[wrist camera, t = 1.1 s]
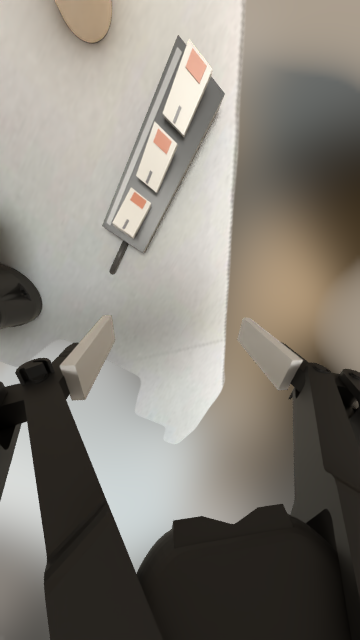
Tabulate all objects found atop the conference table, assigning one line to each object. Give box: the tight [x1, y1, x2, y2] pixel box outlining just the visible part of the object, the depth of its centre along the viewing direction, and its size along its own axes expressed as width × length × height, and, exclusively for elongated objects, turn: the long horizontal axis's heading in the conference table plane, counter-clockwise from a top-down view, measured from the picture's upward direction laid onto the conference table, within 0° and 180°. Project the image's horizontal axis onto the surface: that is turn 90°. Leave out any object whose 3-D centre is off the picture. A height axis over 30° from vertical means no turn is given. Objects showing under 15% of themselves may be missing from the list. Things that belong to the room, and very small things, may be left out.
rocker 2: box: [136, 121, 178, 193], centre depth 25 cm, size 4×7×2 cm, turn 147°
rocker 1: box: [112, 188, 151, 239], centre depth 28 cm, size 4×7×2 cm, turn 147°
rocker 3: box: [163, 39, 212, 137], centre depth 22 cm, size 4×7×2 cm, turn 147°
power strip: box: [102, 35, 225, 274], centre depth 30 cm, size 9×37×4 cm, turn 147°
